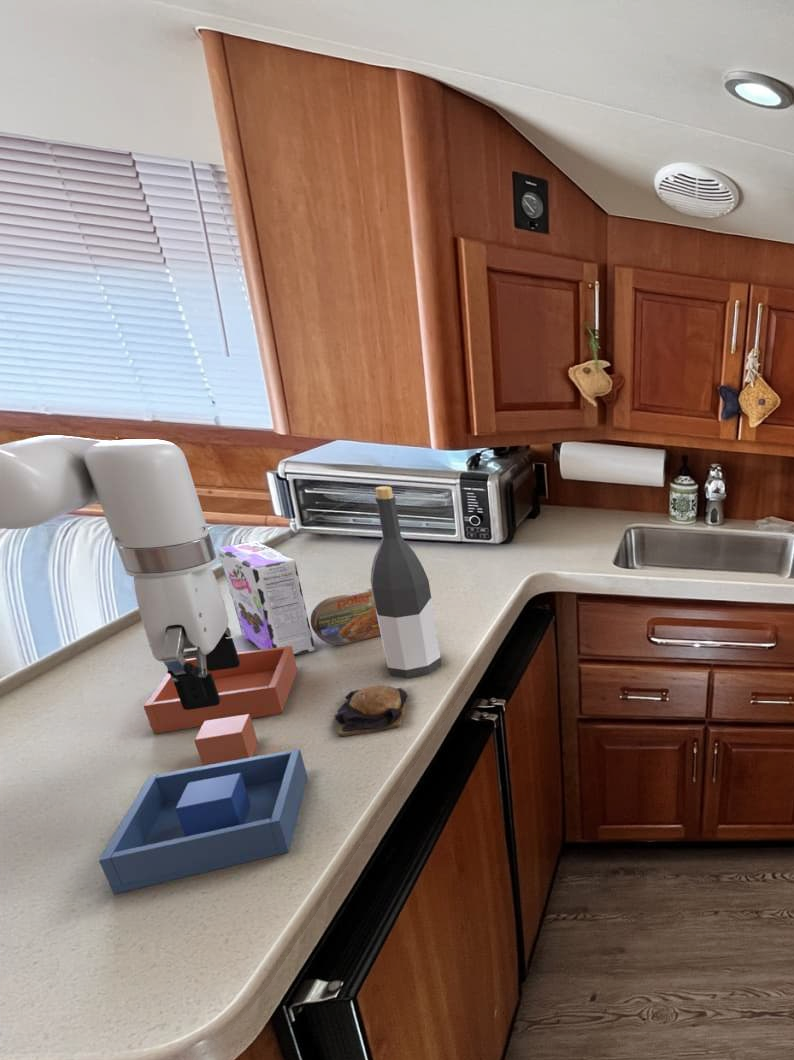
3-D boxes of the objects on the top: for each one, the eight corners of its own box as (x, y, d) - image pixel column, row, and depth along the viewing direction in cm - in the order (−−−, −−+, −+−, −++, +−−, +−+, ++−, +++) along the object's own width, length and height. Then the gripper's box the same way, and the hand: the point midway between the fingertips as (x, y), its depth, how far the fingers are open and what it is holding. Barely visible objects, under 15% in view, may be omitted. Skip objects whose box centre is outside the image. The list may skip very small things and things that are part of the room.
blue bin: (113, 894, 61) (98, 860, 60) (160, 806, 72) (148, 775, 71) (288, 852, 68) (279, 820, 66) (307, 776, 79) (300, 748, 77)
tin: (320, 651, 107) (309, 605, 104) (313, 645, 108) (302, 600, 105) (415, 626, 118) (408, 584, 115) (408, 621, 120) (401, 579, 116)
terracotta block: (204, 770, 78) (193, 740, 76) (213, 750, 82) (204, 720, 80) (250, 761, 80) (241, 732, 79) (258, 742, 84) (249, 713, 82)
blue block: (187, 842, 67) (174, 808, 65) (199, 815, 70) (187, 782, 69) (242, 830, 69) (231, 797, 67) (251, 804, 73) (241, 772, 71)
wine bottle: (395, 656, 107) (362, 481, 96) (447, 654, 109) (421, 482, 98) (378, 679, 100) (341, 493, 89) (435, 677, 102) (405, 494, 91)
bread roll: (345, 700, 95) (340, 678, 93) (410, 690, 98) (406, 669, 97) (332, 739, 86) (326, 715, 84) (404, 727, 89) (400, 704, 88)
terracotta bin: (153, 733, 84) (143, 706, 82) (184, 685, 95) (176, 659, 93) (282, 713, 90) (275, 687, 88) (297, 669, 101) (291, 645, 99)
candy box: (241, 637, 109) (214, 546, 103) (281, 626, 114) (259, 539, 107) (276, 662, 103) (250, 567, 96) (317, 649, 107) (296, 558, 101)
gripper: (150, 534, 76) (194, 660, 82) (89, 585, 62) (147, 731, 69) (231, 529, 79) (267, 650, 86) (190, 576, 65) (236, 716, 72)
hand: (214, 686), depth 77 cm, fingers open, 9 cm apart
